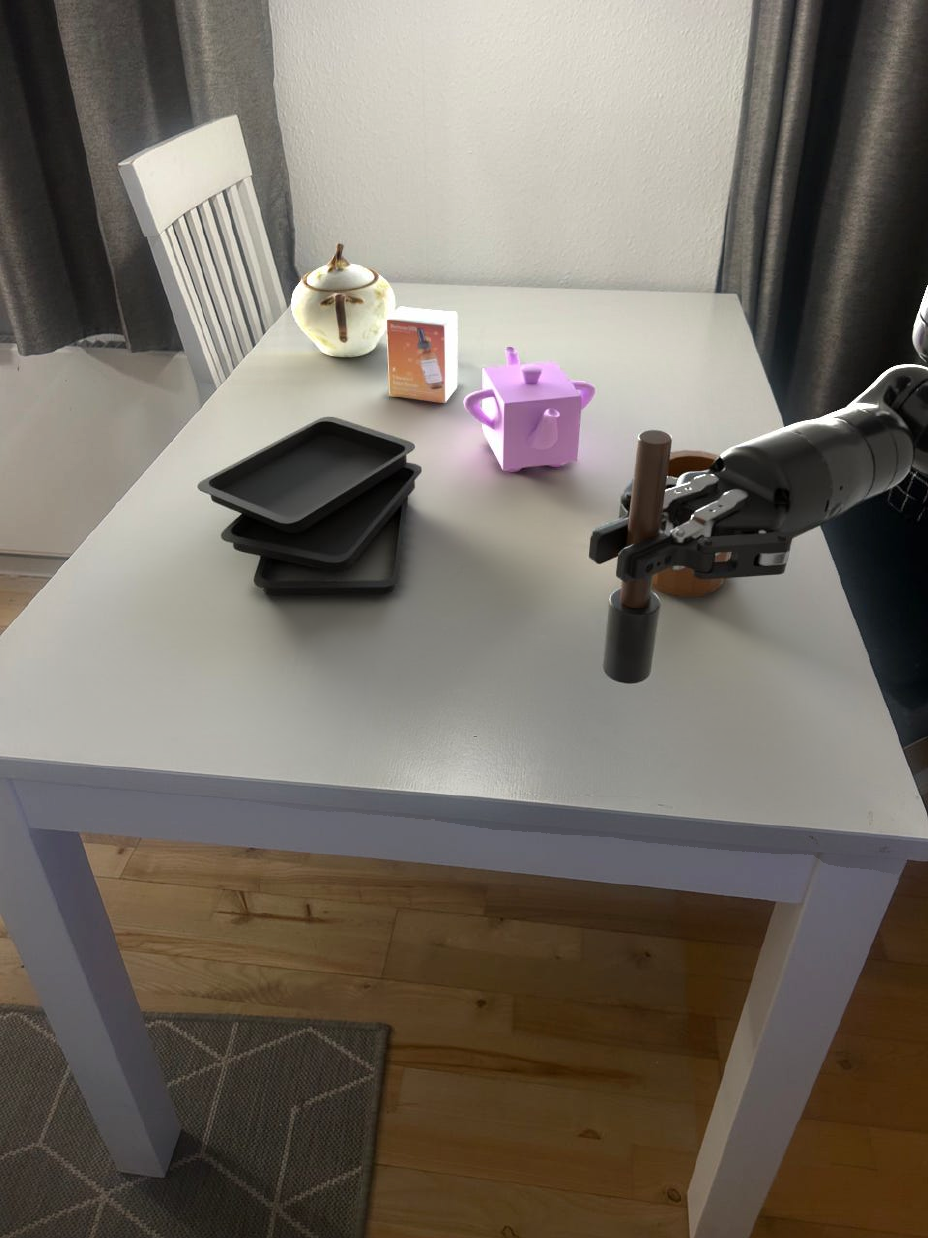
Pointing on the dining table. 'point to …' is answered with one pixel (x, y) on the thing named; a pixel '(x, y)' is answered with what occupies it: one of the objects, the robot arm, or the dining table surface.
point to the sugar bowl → (343, 307)
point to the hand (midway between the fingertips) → (607, 558)
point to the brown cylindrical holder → (684, 579)
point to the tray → (317, 502)
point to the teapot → (530, 413)
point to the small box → (422, 354)
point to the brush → (635, 600)
